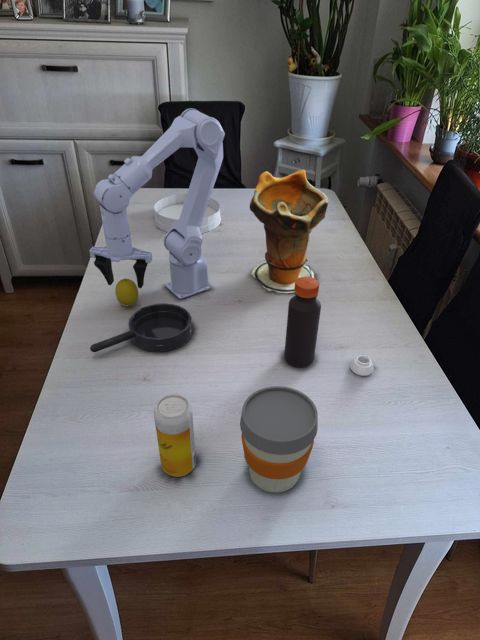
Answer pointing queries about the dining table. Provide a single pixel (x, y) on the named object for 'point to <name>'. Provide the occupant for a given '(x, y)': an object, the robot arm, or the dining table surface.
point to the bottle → (302, 323)
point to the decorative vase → (286, 227)
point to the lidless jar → (362, 365)
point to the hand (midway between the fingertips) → (126, 284)
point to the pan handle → (111, 341)
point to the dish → (172, 208)
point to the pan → (161, 327)
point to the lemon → (126, 292)
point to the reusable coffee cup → (277, 436)
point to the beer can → (175, 435)
